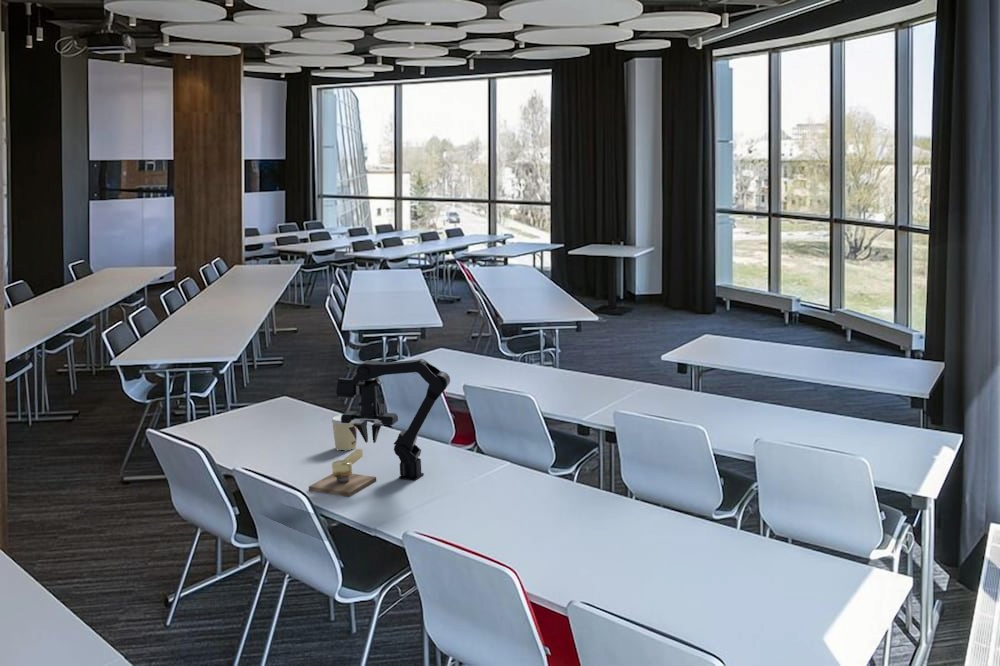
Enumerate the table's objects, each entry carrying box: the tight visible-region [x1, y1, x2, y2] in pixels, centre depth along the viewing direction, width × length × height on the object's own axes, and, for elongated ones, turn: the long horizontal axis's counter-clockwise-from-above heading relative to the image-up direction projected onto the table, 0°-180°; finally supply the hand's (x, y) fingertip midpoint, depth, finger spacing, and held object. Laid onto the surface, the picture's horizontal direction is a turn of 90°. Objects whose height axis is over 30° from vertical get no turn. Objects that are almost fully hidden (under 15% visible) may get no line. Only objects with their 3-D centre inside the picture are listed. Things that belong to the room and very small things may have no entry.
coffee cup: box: [331, 414, 358, 451], centre depth 347 cm, size 9×9×12 cm
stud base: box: [308, 473, 377, 498], centre depth 306 cm, size 16×16×4 cm
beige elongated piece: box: [331, 448, 363, 478], centre depth 311 cm, size 18×6×4 cm, turn 165°
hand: (370, 442), depth 314 cm, fingers open, 3 cm apart
